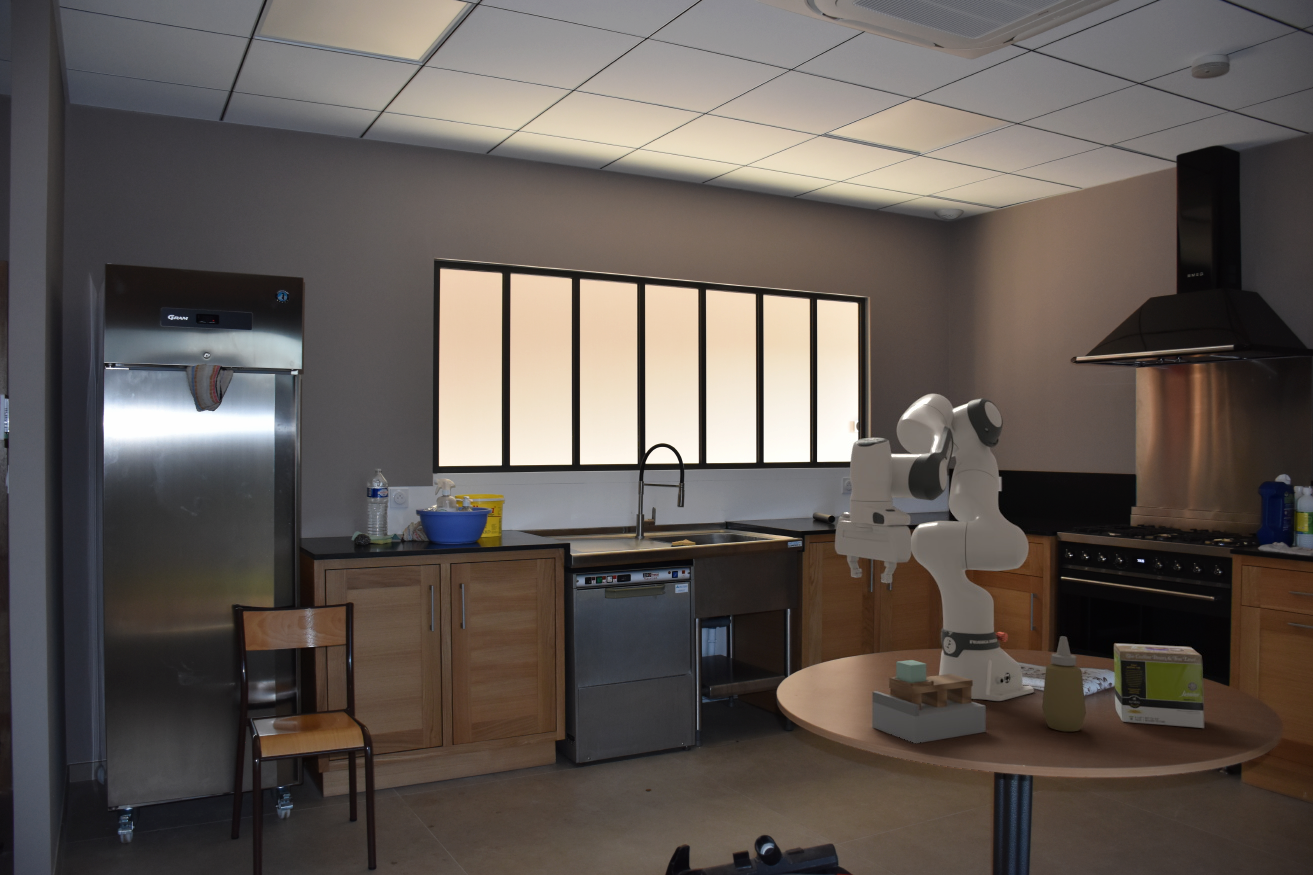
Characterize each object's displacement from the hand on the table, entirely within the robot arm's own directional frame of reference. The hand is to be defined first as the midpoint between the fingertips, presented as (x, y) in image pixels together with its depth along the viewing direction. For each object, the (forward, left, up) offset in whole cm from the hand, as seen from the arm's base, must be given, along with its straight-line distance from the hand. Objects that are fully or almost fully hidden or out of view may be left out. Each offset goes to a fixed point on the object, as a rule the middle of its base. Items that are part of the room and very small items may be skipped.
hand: (871, 579), depth 198 cm
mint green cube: (+3, +16, -18) cm, 24 cm away
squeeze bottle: (-26, +27, -28) cm, 47 cm away
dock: (-1, +16, -28) cm, 32 cm away
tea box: (-49, +31, -28) cm, 64 cm away
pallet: (-2, +16, -23) cm, 27 cm away
